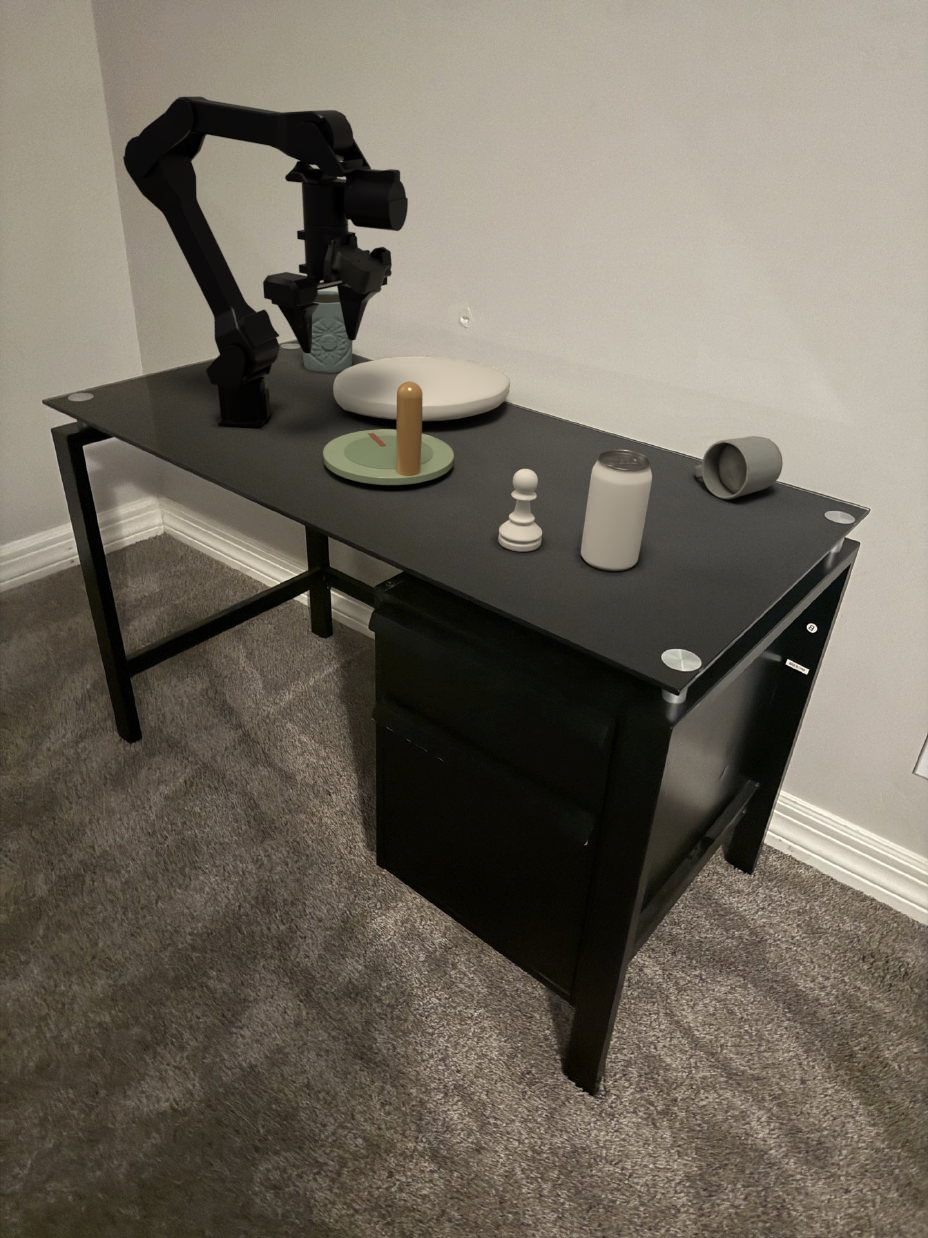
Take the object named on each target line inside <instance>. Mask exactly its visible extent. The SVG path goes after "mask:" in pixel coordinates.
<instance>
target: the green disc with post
mask: <svg viewBox="0 0 928 1238" xmlns="http://www.w3.org/2000/svg"><path fill="white" fill-rule="evenodd" d="M422 407H423V393H422V390H421V388H420V386H419V385H418V384H416V383H414V382H405V383H403V384H402V385H400V387H399V388H398V390H397V417H396V420H395V421H396V425H395V426H396V427H395V429H393V428H392V429H391V428H389V429H387V428H385V429H383V428H382V429H381V428H379V429H367V430H360V431H354V432H350V433H347V434H343V435H340V436H338V437H335V438H334V439H332V440H330V441H329V442H327V444H326V445H325V446H324V447H323V450H322V461H323V464H324V466H325V467H326V468H327V469H328V470H329V471H331V473H333V474H335V475H337V476H338V477H342V478H343V479H347V480H350V481H354V482H358V483H363V484H370V485H379V486H402V485H413V484H420V483H424V482H428V481H432V480H435V479H437V478H440V477H442V476H444V475H445V474H447V473H448V472H450V470H451V469H452V468H453V466H454V463H455V462H454V461H455V453H454V450H453V449H452V447H451V446H450V444H447V442H446V441H443V440H442V439H440V438H437V437H435V436H431V435H429V434H426V433H423V421H422Z"/></svg>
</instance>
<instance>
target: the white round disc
mask: <svg viewBox="0 0 928 1238" xmlns="http://www.w3.org/2000/svg"><path fill="white" fill-rule="evenodd" d="M405 382H414V383H416V384H418V385H419V386H420V388H421V390H422V393H423V407H422V422H440V421H441V422H442V421H450V420H459V419H464V418H468V417H473V416H476V415H481V414H485V413H487V412H490V411H492V410H494V409H496V408H498V407H499V406H500V405H501V404H503V403H504V402H505V401H506V400H507V398H508V396H509V394H510V389H511V381H510V377H509V376H508V375H507V374H506V373H505V372H504V371H502V370H500V369H499V368H496V367H493V366H492V365H489V364H484V363H480V362H476V361H472V360H467V359H461V358H455V357H454V358H453V357H444V356H432V355H406V356H394V357H385V358H379V359H374V360H369V361H365V362H360V363H357V364H354V365H352V366H351V367H349V368H347V369H345V370H344V371H342V372H339V373H338V374H337V375H336V377H335V379H334V380H333V385H332V389H333V397H334V399H335V401H336V403H337V404H338V405H339V406H340V407H341V409H343V410H344V411H347V412H350V413H353V414H358V415H362V416H366V417H371V418H377V419H384V420H393V421H396V417H397V390H398V388H399V387H400V385H402V384H403V383H405Z"/></svg>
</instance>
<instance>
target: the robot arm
mask: <svg viewBox="0 0 928 1238" xmlns="http://www.w3.org/2000/svg"><path fill="white" fill-rule="evenodd" d="M206 136H213V137H218V138H223V139H230V140H235V141H240V142H246V143H251V144H257V145H261V146H262V145H263V146H268V147H271V148H274V149H276V150H278V151H280V152H281V153H283V154H284V155H286V156H288V157H289V158H292V159H295V160H297V161H296V163H295V165H294V167H293V168H292V169H291V170H290V171H289V172H288V173H287V174H285V176H284V180H285V181H286V182H289V183H299V184H301V198H302V199H301V200H302V219H303V229H299V230H296V238H297V240H301V241H303V242H304V263H300V264H298V273H299V274H298V273H294V272H289V271H283V272H279V273H274V274H268V275H267V276H266V277H265V278H264V280H263V281H262V287H263V299H264V300H265V299H266V300H270V302H271V304H272V305H275V306H277V307H278V309H279V310H280V312H281V314H282V315H283V317H284V318H285V320H286V322H287V323H288V325H289V328H290V329H291V331H292V333H293V335H294V337H295V339H296V341H297V343H298V344H299V346H300V348H301V351H302V350H303V352H304V353H308V354H309V353H311V349H312V314H313V313H314V311H315V310H316V308H317V307H318V306H319V303H314V301H315V299H316V297H317V295H318V291H323V290H326V289H330V288H336V289H337V292H338V294H339V299H340V304H341V309H342V314H343V319H344V324H345V329H346V333H347V336H348V339H349V340H353V341H356V340H357V336H358V333H359V329H360V326H361V323H362V320H363V318H364V313H365V311H366V308H367V305H368V303H369V302H370V300H371V299H372V298H373V297H374V296H375V295H376V294H378V293H380V292H381V291H382V287H383V286H387V285H388V277H391V276H392V274H393V272H392V267H393V264H392V252H391V250H389V249H388V248H386V247H385V246H379V247H375V248H373V249H372V250H369V249H361V248H360V247H359V246H358V236H357V235H356V232H354V231H349V220H350V222H351V223H352V225H353V226H355V227H358V228H364V229H373V230H374V229H376V230H384V231H392V232H399V231H400V230H402V229H403V227H404V225H405V222H406V220H407V215H408V209H409V208H408V206H409V199H408V197H407V193H406V189H405V185H404V184H403V182H402V181H401V171H400V169H393V168H389V169H374V168H372V167H371V165H370V164H369V162H368V161H367V159H366V157H365V155H364V153H363V152H362V150H361V149H360V146H359V145H358V143H357V142H356V140H355V138H354V131H353V128H352V125H351V123H350V122H349V121H348V118H347V116H346V115H345V114H344V113H342V112H341V111H338V110H335V109H325V110H324V109H322V110H320V109H319V110H301V111H300V110H299V111H284V112H281V111H275V110H269V109H265V108H264V109H263V108H258V107H251V106H247V105H245V106H244V105H239V104H234V103H227V102H222V101H216V100H210V99H207V98H205V96H179V97H177V98H175V99H174V100H173V101H172V102H171V104H170V105H169V106H168V108H167V109H166V110H165V111H164V112H163V113H161V115H159V116H158V117H156V118H155V119H154V120H153V121H151V123H149V124H148V125H147V126H145V127H144V128H143V129H142V130H141V132H140V133H139V134H138V135H136V136H134V137H131V138H130V139H129V140H128V141H127V143H126V146H125V148H124V155H123V156H122V160H123V164H124V168H125V170H126V172H127V174H128V175H129V177H130V178H131V180H132V181H133V183H134V184H135V186H136V188H137V189H138V191H139V192H140V193H141V195H142V196H143V197H144V198H145V199H146V200H148V201H149V202H150V203H151V204H152V205H153V206H154V207H155V208H156V209H157V210H159V211H160V212H161V213H162V215H163V217H164V219H165V221H166V222H167V224H168V225H169V228H170V230H171V232H172V234H173V237H174V238H175V240H176V243H177V244H178V246H179V248H180V251H181V253H182V254H183V256H184V259H185V261H186V263H187V264H188V266H189V269H190V271H191V273H192V275H193V277H194V279H195V281H196V283H197V285H198V287H199V289H200V291H201V293H202V295H203V297H204V299H205V301H206V303H207V305H208V308H209V309H210V311H211V313H212V316H213V323H214V325H213V326H214V327H213V328H214V331H213V332H214V342H215V344H216V347H217V348H216V349H217V351H218V356H217V357H216V358H215V359H214V360H213V361H212V362H211V363H210V364H209V366H208V367H207V368H206V369H205V373H206V374H207V377H208V380H209V382H210V384H211V385H213V386H217V392H218V394H217V395H218V403H219V413H220V418H219V419H218V420H217V425H218V426H230V427H245V428H246V427H248V428H261V427H263V426H264V424H265V423H266V421H267V420H268V419H269V417H270V415H271V414H272V413H271V401H270V388H269V387H266V382H265V376H266V375H269V374H270V373H271V370H272V366H273V364H274V363H275V362H276V361H277V360H278V356H279V352H280V344H279V341H278V338H279V337H280V334H279V333H278V332H277V331H276V329H275V328H274V326H273V324H272V321H271V318H270V315H269V313H268V311H267V310H266V309H261V310H259V311H256V310H255V309H254V308H253V307H252V306H250V304H248V303H247V301H246V300H245V297H244V295H243V294H242V292H241V289H240V287H239V284H238V283H237V281H236V279H235V277H234V275H233V273H232V270H231V268H230V266H229V264H228V262H227V260H226V257H225V256H224V254H223V252H222V249H221V247H220V246H219V243H218V241H217V239H216V237H215V235H214V233H213V231H212V228H211V227H210V225H209V222H208V220H207V218H206V216H205V214H204V212H203V210H202V207H201V206H200V204H199V201H198V197H197V194H198V193H197V174H196V172H195V168H194V165H193V160H194V159H195V158H196V157H197V155H198V154H199V153H200V152H201V150H202V147H203V145H204V143H205V139H206ZM313 166H316V167H317V168H316V167H313ZM344 178H345V179H344Z"/></svg>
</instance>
